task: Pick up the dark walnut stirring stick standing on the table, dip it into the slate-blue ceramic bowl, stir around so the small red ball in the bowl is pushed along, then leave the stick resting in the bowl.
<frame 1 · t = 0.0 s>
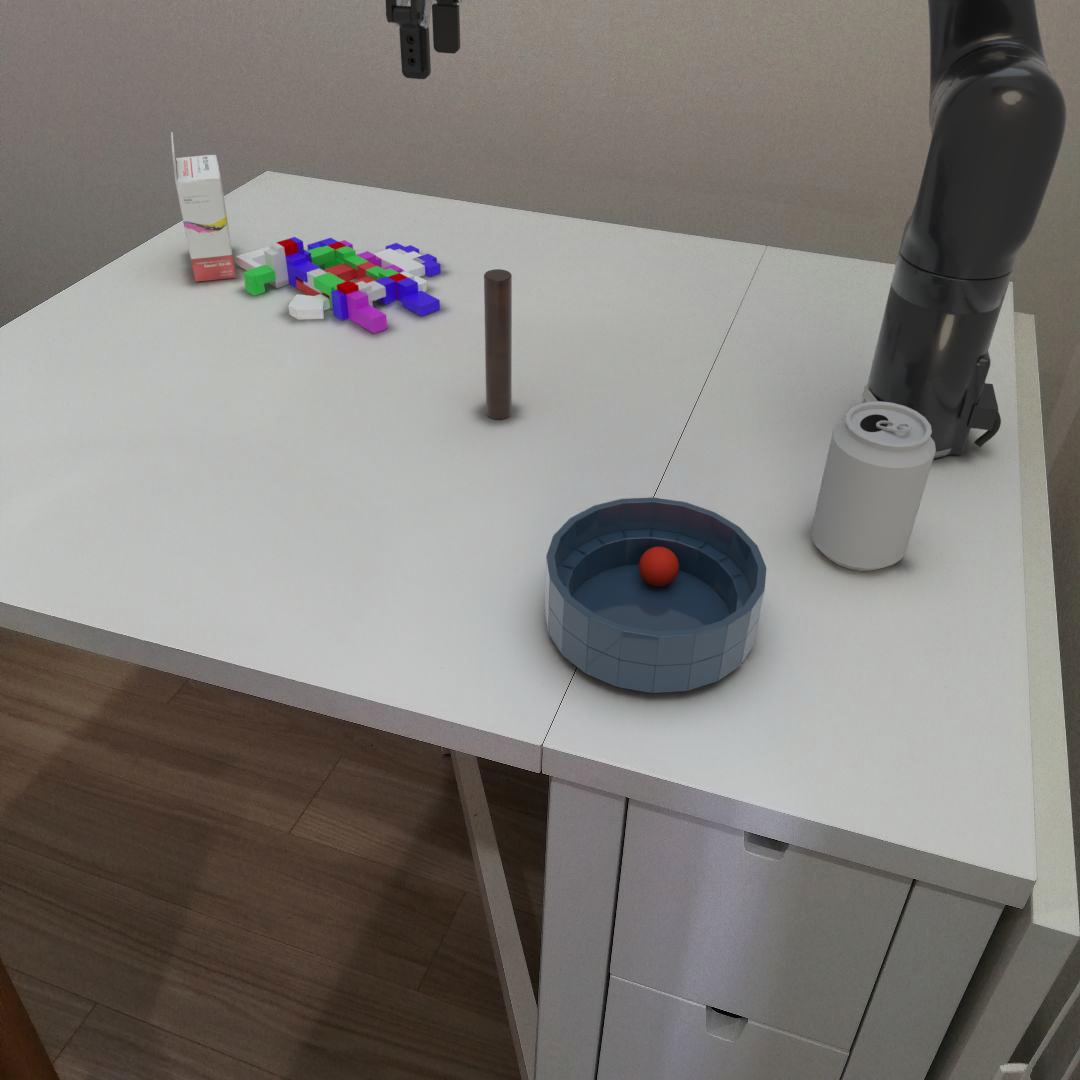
hand: (432, 64, 88), 29 cm above the table, tool pointing down, fingers open, 8 cm apart
stick: (498, 413, 100), on the table
bowl: (649, 624, 78), on the table
ink cartridge box: (214, 267, 126), on the table
building block set: (349, 283, 123), on the table
ball: (658, 566, 79), point 2 cm above the table, touching bowl
can: (855, 549, 85), on the table
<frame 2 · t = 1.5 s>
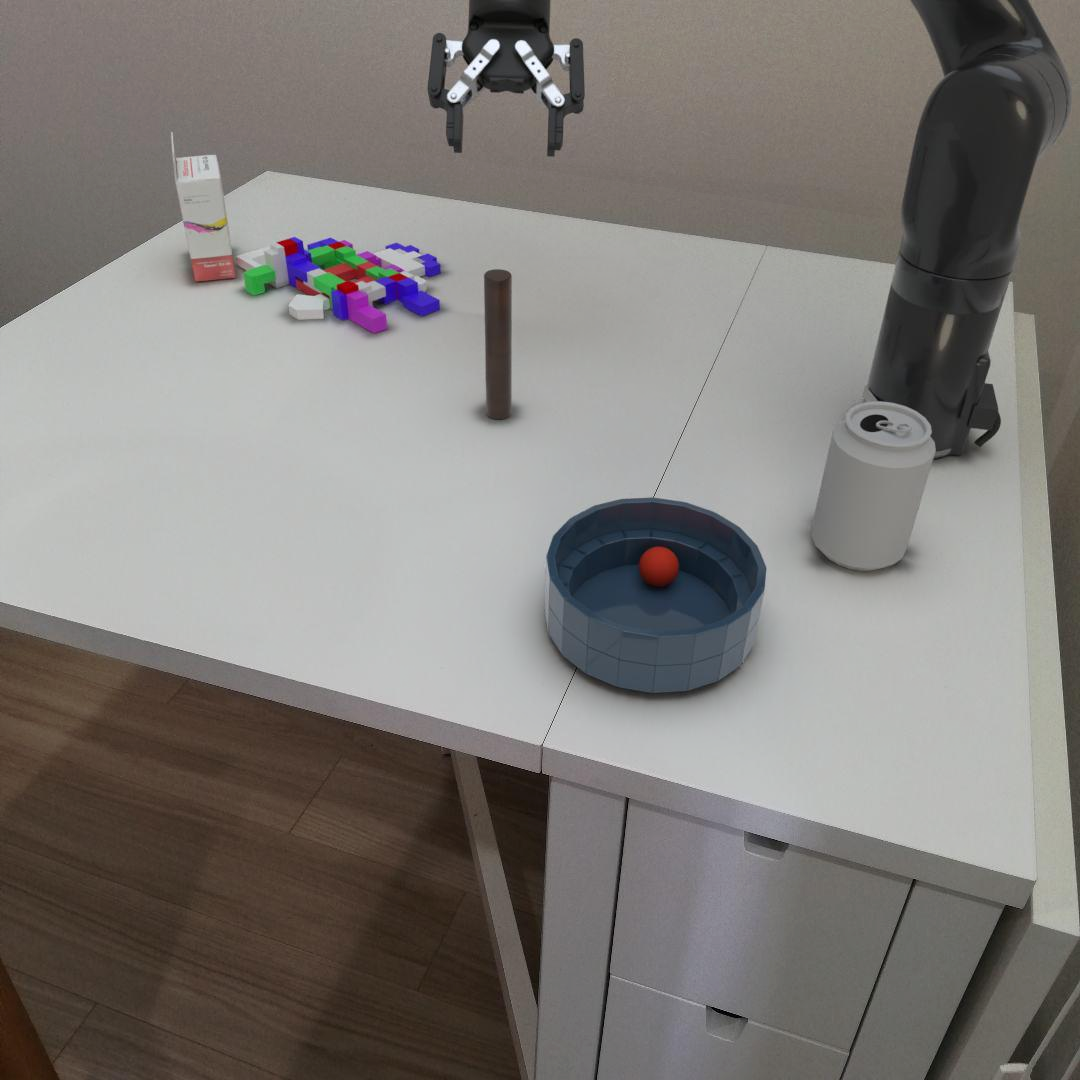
hand: (504, 151, 96), 21 cm above the table, tool tilted 45°, fingers open, 8 cm apart
nothing on the table moved.
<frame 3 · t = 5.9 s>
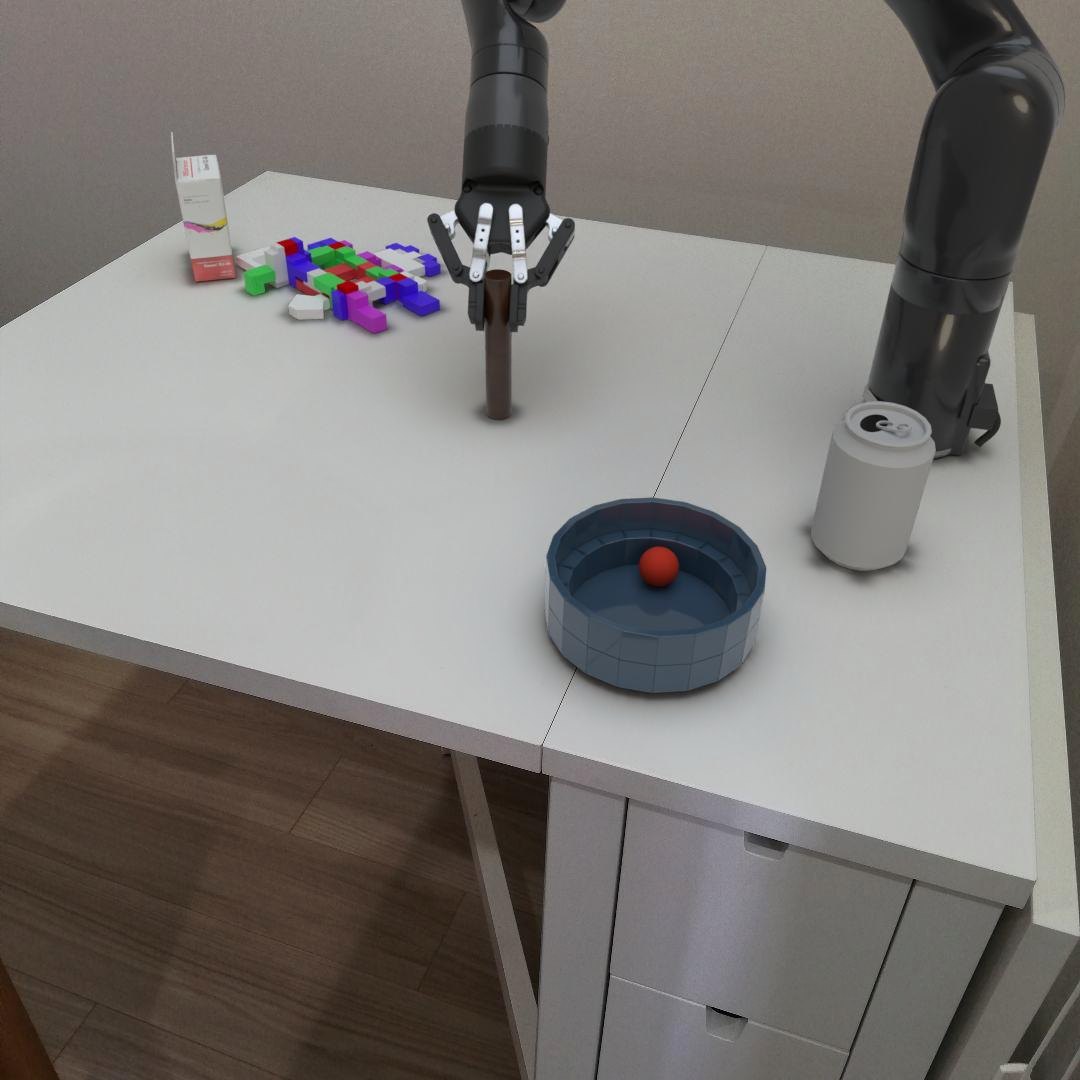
hand: (496, 328, 93), 10 cm above the table, tool tilted 45°, fingers closed on stick, 2 cm apart
stick: (498, 413, 100), on the table, touching gripper
everything else where it was.
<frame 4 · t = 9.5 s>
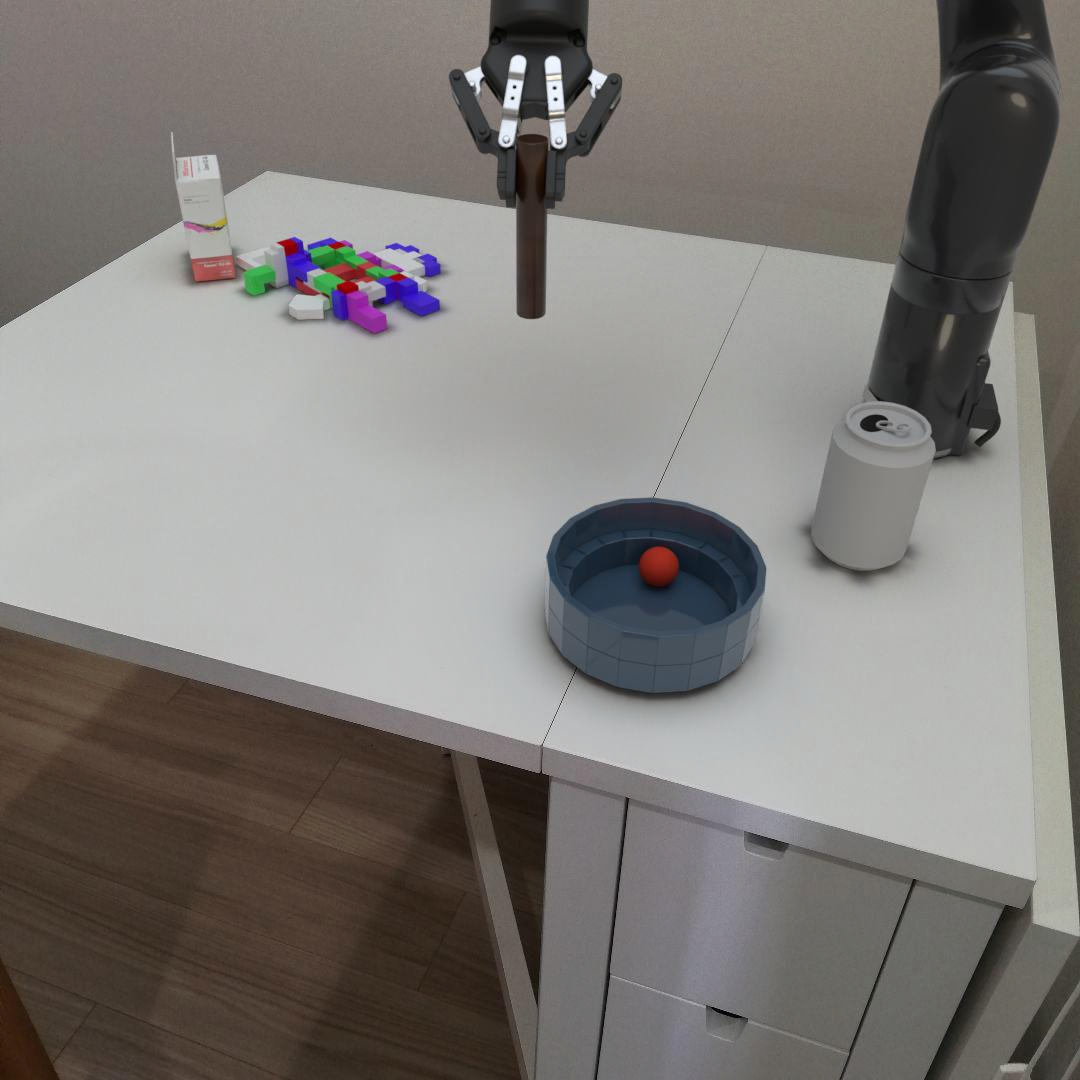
hand: (530, 203, 79), 24 cm above the table, tool tilted 45°, fingers closed on stick, 2 cm apart
stick: (531, 313, 87), point 14 cm above the table, touching gripper
everything else where it was.
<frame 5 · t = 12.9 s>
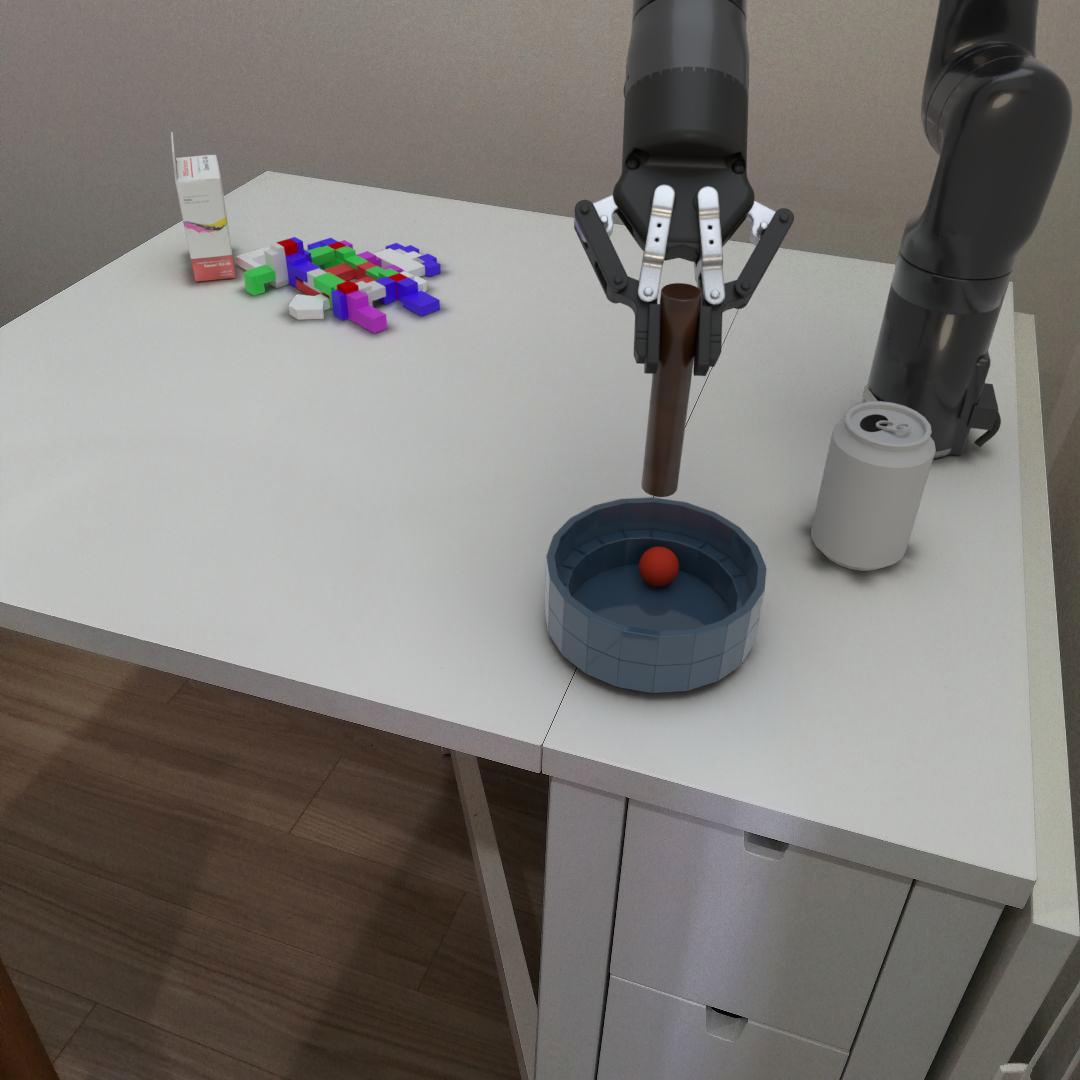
hand: (676, 370, 63), 22 cm above the table, tool tilted 45°, fingers closed on stick, 2 cm apart
stick: (659, 487, 70), point 12 cm above the table, touching gripper
everything else where it was.
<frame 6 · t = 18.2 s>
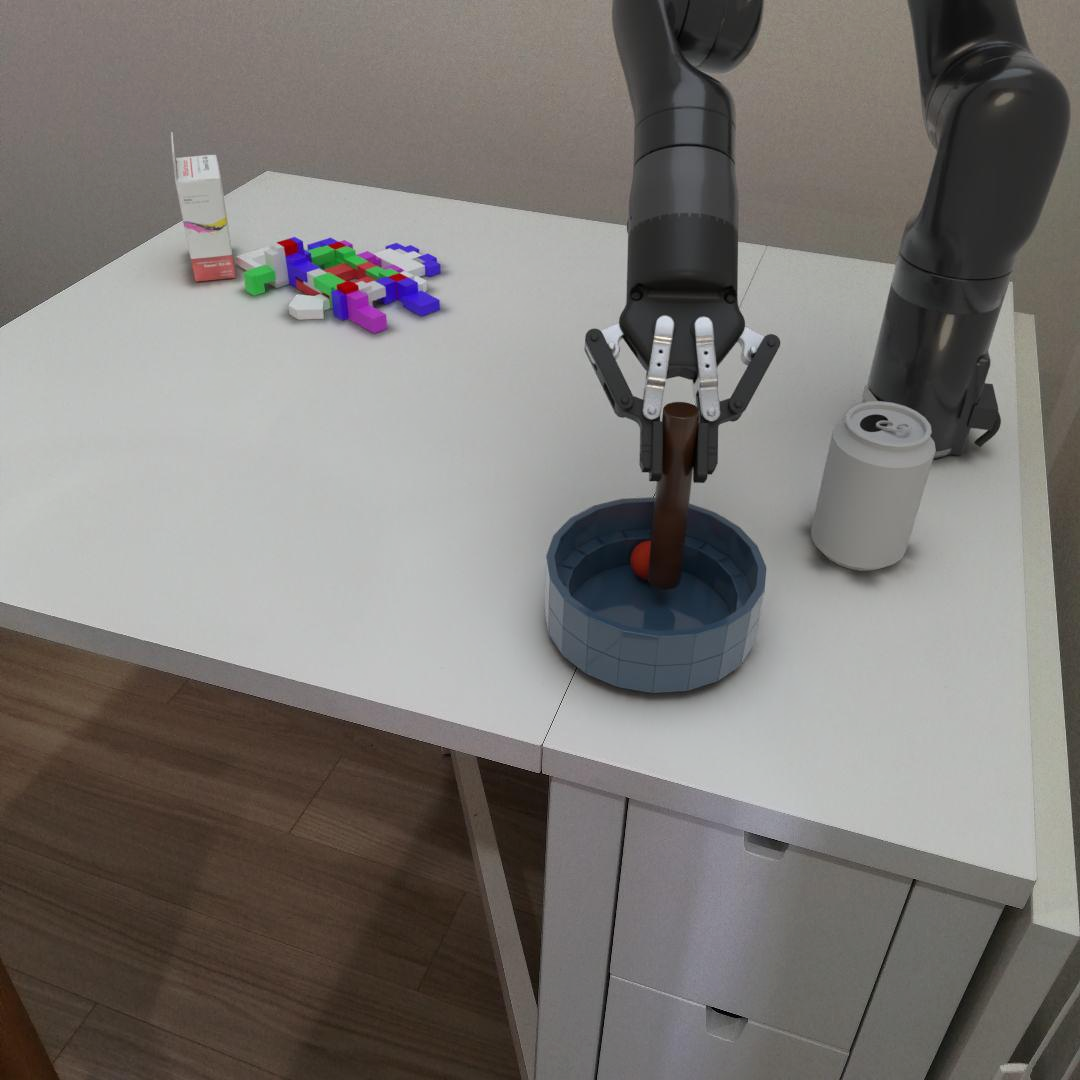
hand: (678, 478, 70), 13 cm above the table, tool tilted 45°, fingers closed on stick, 2 cm apart
stick: (663, 580, 77), point 3 cm above the table, touching ball, gripper
ball: (650, 560, 80), point 2 cm above the table, tilted 25°, touching bowl, stick
everything else where it was.
when the fingers open (11 cm above the table, at t = 19.8 s): stick stays where it is, resting on bowl.
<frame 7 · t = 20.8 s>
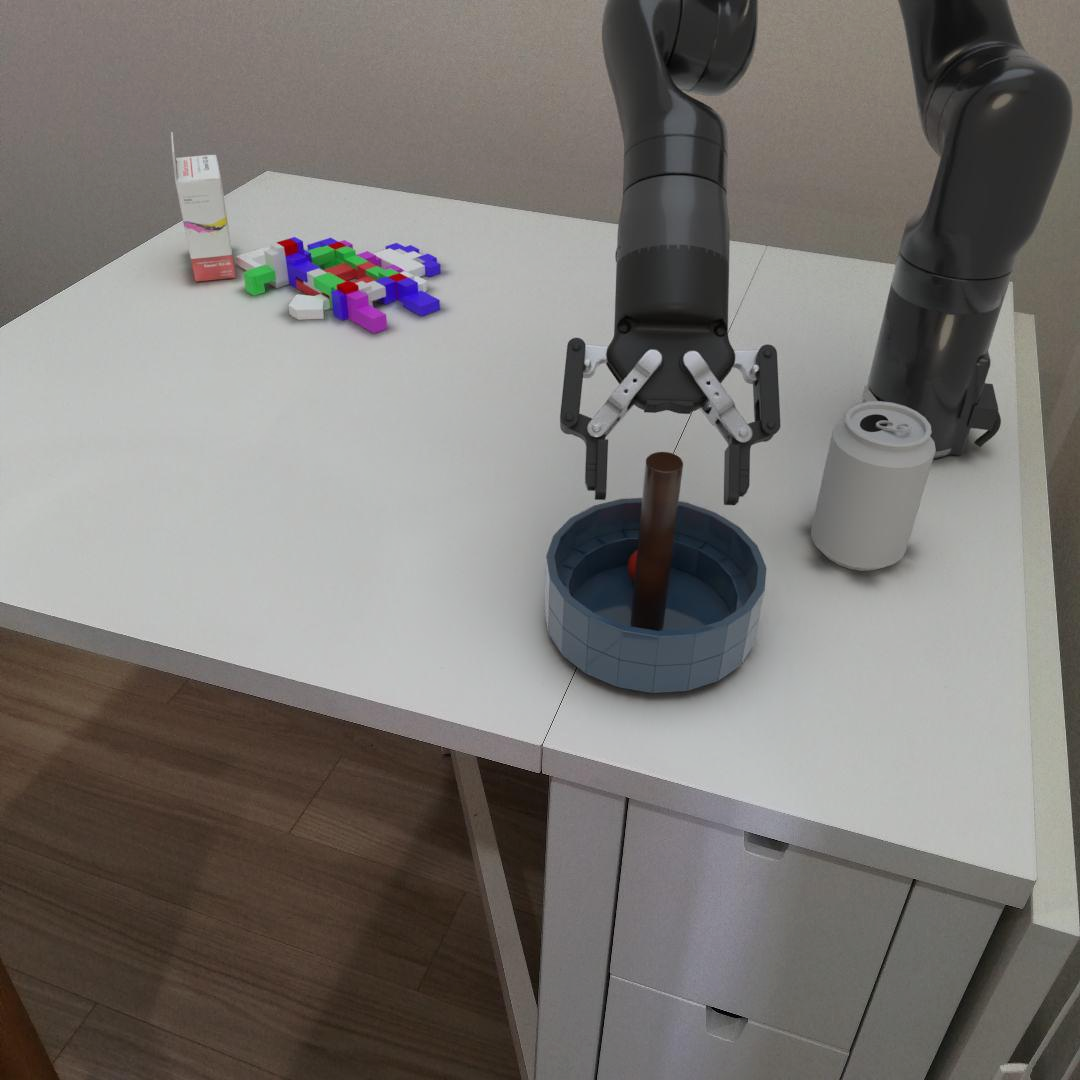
hand: (666, 501, 69), 12 cm above the table, tool tilted 45°, fingers open, 8 cm apart
stick: (647, 622, 77), point 1 cm above the table, touching bowl
ball: (647, 566, 79), point 2 cm above the table, touching bowl
everything else where it was.
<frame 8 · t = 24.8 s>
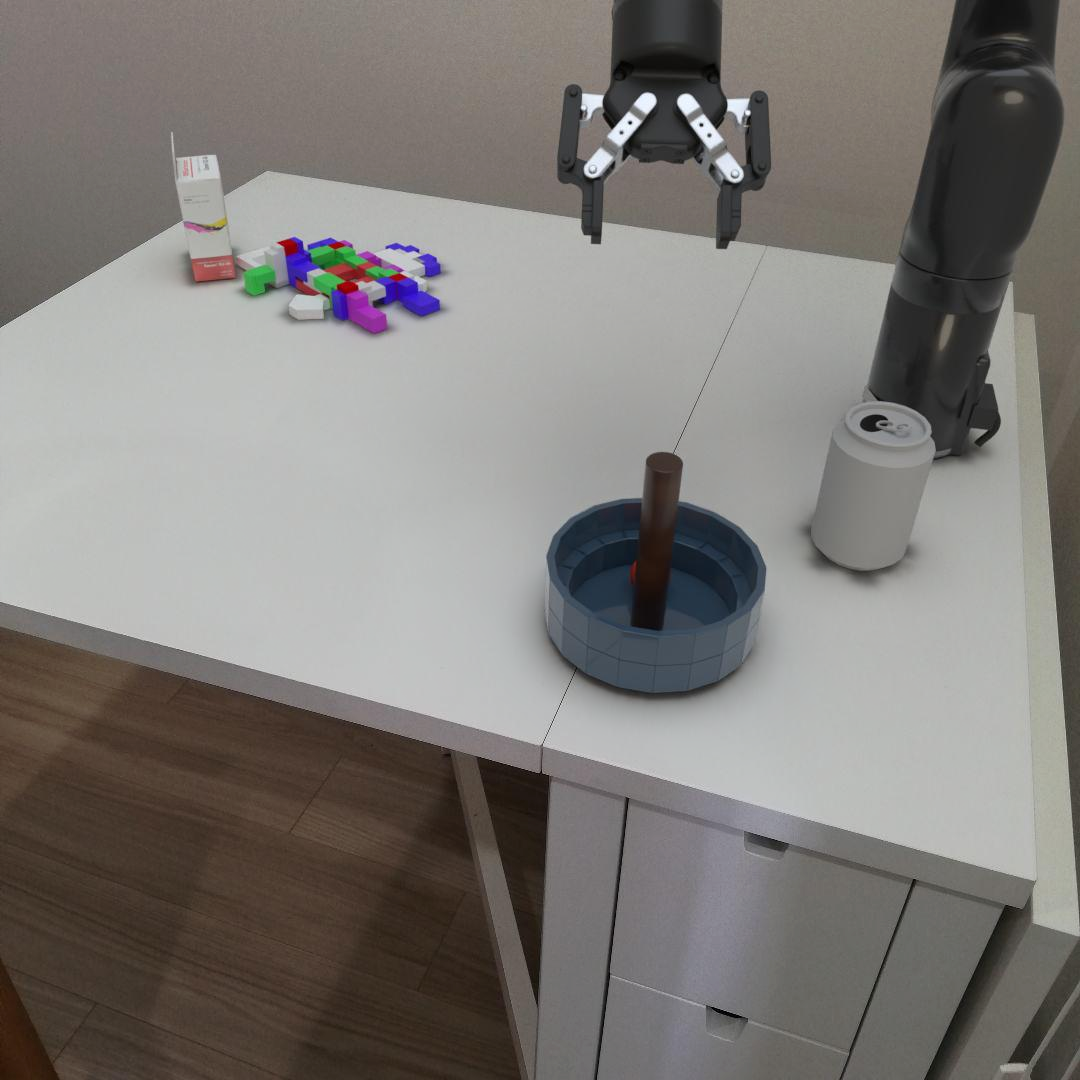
hand: (659, 242, 71), 25 cm above the table, tool tilted 45°, fingers open, 8 cm apart
ball: (650, 575, 78), point 2 cm above the table, tilted 39°, touching bowl
everything else where it was.
at the end: ball moved 1.3 cm from its start; stick inside the target area in the bowl (0.7 cm from its centre), point 0.8 cm above the bowl's base; the gripper is holding nothing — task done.
